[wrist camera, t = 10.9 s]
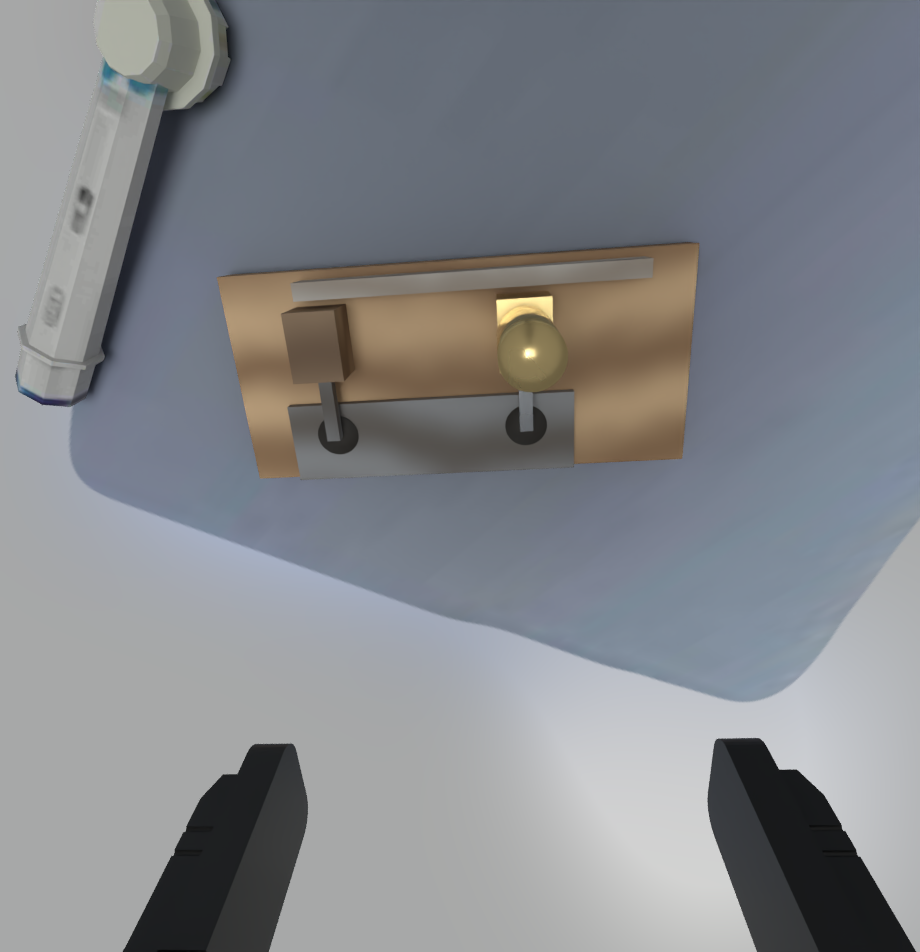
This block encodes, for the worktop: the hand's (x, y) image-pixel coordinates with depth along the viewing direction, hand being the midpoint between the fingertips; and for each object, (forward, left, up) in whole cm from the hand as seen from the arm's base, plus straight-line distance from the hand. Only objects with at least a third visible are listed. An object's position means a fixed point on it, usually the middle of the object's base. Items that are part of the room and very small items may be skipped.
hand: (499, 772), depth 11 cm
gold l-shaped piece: (-2, +2, -28) cm, 28 cm away
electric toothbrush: (-12, -22, -31) cm, 39 cm away
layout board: (-2, -2, -30) cm, 30 cm away
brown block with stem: (-2, -10, -28) cm, 30 cm away
